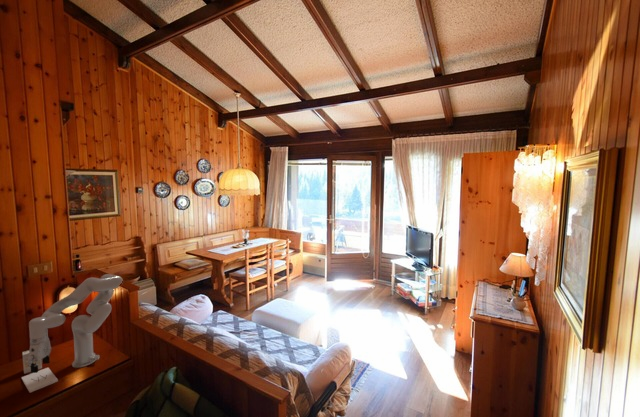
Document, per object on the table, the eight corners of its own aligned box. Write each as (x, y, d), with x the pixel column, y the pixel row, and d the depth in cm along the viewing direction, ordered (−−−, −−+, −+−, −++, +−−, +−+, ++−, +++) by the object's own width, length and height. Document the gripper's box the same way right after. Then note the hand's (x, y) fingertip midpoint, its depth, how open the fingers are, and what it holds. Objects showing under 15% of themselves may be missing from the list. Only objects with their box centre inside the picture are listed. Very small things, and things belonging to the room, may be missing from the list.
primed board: (57, 381, 172) (57, 379, 172) (29, 392, 163) (29, 390, 163) (48, 369, 184) (48, 367, 184) (21, 379, 174) (21, 377, 174)
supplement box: (41, 366, 187) (40, 346, 186) (42, 369, 184) (41, 349, 183) (23, 371, 181) (22, 351, 180) (23, 375, 178) (22, 354, 177)
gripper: (34, 346, 161) (36, 376, 162) (57, 331, 178) (58, 358, 179) (18, 347, 160) (20, 377, 161) (43, 332, 177) (44, 359, 178)
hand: (40, 367), depth 170 cm, fingers open, 8 cm apart
